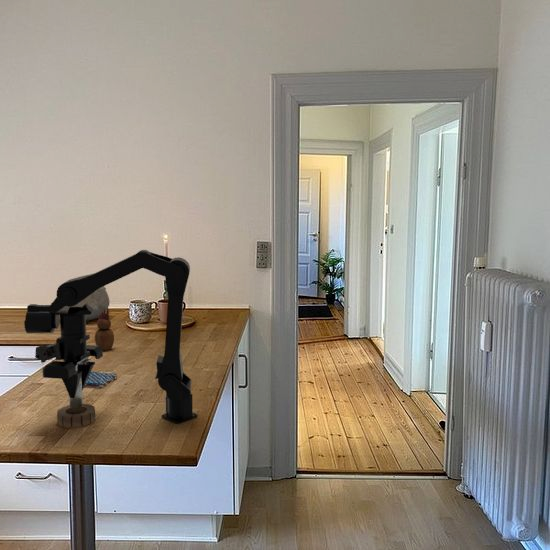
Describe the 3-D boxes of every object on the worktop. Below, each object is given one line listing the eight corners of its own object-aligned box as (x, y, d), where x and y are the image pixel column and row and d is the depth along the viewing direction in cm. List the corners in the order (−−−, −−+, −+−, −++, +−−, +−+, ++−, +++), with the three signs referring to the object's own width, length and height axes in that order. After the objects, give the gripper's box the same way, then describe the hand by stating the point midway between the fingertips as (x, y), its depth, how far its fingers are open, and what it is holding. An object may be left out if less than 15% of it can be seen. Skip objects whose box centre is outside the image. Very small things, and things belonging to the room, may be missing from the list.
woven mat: (119, 379, 168) (119, 372, 168) (102, 390, 158) (102, 383, 157) (87, 376, 170) (87, 370, 169) (68, 388, 159) (68, 381, 159)
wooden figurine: (117, 349, 198) (116, 308, 196) (102, 352, 194) (101, 310, 192) (107, 346, 202) (106, 305, 200) (92, 349, 198) (91, 307, 196)
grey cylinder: (85, 405, 135) (83, 373, 134) (73, 408, 133) (72, 376, 131) (78, 402, 137) (77, 370, 136) (67, 405, 134) (65, 373, 133)
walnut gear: (102, 419, 136) (101, 409, 135) (69, 430, 129) (69, 420, 129) (82, 411, 141) (82, 401, 141) (50, 421, 135) (50, 410, 134)
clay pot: (55, 326, 231) (54, 291, 229) (62, 316, 251) (61, 283, 249) (108, 324, 236) (107, 289, 234) (111, 314, 256) (110, 282, 254)
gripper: (61, 322, 142) (64, 381, 144) (18, 340, 124) (22, 407, 126) (102, 324, 141) (104, 383, 143) (65, 343, 123) (68, 410, 125)
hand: (75, 395), depth 134 cm, fingers closed on grey cylinder, 3 cm apart
